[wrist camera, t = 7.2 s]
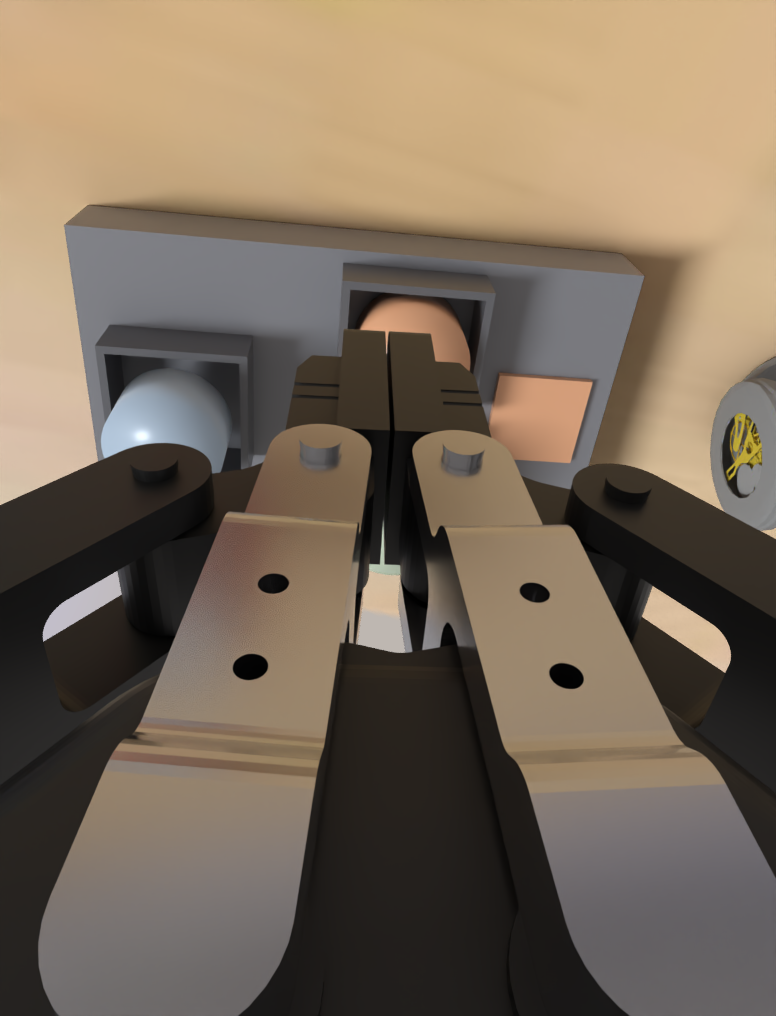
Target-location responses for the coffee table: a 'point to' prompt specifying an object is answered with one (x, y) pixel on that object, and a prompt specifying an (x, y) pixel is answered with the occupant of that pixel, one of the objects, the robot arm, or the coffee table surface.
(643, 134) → the coffee table surface
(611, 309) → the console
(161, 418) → the slate button
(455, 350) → the terracotta button
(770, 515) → the pocket watch
